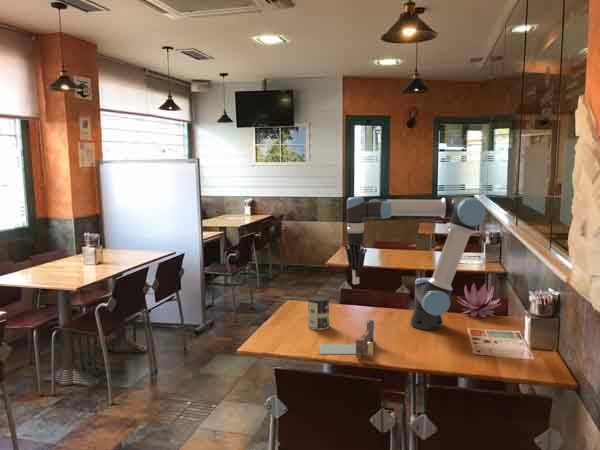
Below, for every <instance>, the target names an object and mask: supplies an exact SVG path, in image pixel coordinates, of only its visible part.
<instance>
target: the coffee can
mask: <svg viewBox="0 0 600 450" xmlns="http://www.w3.org/2000/svg"><path fill="white" fill-rule="evenodd" d="M307 315H308V316H307V319H308V320H307V321H308V323H307V327H308V329H311V330H314V331H315V330H316V331H322V330H326V329H329V328H330V297H329V296H327V295H321V294H315V295H314V294H313V295H311V296H308V297H307Z"/></svg>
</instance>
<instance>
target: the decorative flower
mask: <svg viewBox="0 0 600 450" xmlns="http://www.w3.org/2000/svg"><path fill="white" fill-rule="evenodd" d="M464 295H465V299H466V300H467V301H466V300H464V299H462V298H461V297H460V296H457V298H458V299H459V300H458V299H457V300H456V301H457V302H458V303H459V304H461V305H462V306H464V307H468V308H466V309H465V308H462V309H461V310H462V311H463V310H464V311H463V312H462V314H468V313H469V315H470V317H474V318H476V316H479V317H480V318H486V319H487V315H488V316H492V317H496V315H495V314H494V311H493V310H491V309H495V308H497V307H499V306H500V305H501V303H498V302H500V300H501V298H497V299H494V300H492V297H493V295H494V286H492V287H490V289H488V288H487V284H486V283H484V284H483V285H482V286H481V287H479V289H478V290H477V288H476V284H475V282H473V283H472V285H471V288H470V291H469V290H468V287H467V285H466V284H465V286H464Z"/></svg>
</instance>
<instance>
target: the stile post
mask: <svg viewBox="0 0 600 450" xmlns="http://www.w3.org/2000/svg"><path fill="white" fill-rule="evenodd" d="M373 360H374V345H373V342H371V341H368V342H367V354H366V361H369V362H370V361H373Z"/></svg>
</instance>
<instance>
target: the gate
mask: <svg viewBox="0 0 600 450" xmlns="http://www.w3.org/2000/svg"><path fill="white" fill-rule="evenodd" d="M368 341H371V330H367V329H366V330H365V331H364V332H363V334H362V335H361V336H360V337H359V338H356V339H355V345H356V354H355V358H356V359H361V358H362V357H363V355H365V354H364V352H365V351H366V350H367V342H368Z"/></svg>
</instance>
